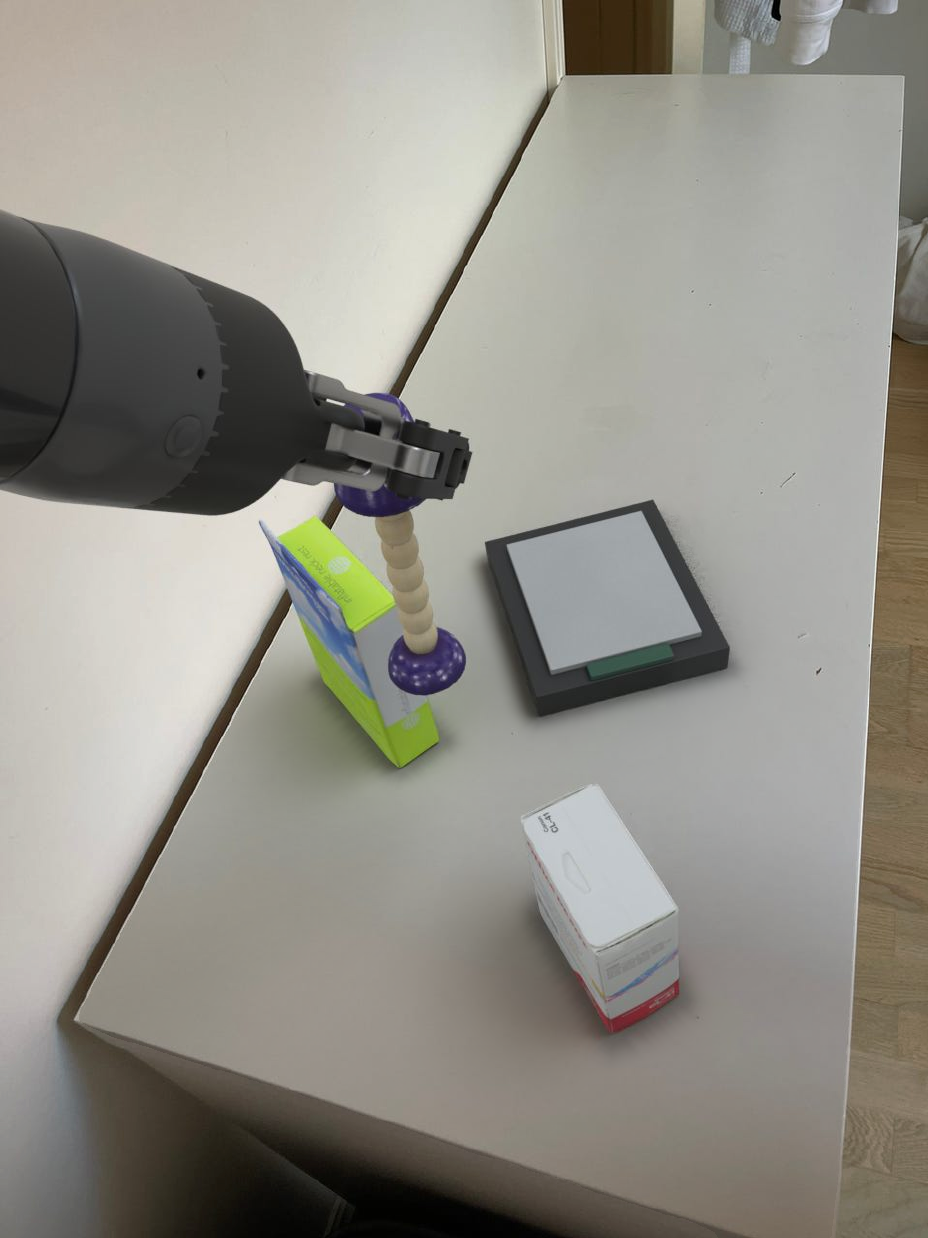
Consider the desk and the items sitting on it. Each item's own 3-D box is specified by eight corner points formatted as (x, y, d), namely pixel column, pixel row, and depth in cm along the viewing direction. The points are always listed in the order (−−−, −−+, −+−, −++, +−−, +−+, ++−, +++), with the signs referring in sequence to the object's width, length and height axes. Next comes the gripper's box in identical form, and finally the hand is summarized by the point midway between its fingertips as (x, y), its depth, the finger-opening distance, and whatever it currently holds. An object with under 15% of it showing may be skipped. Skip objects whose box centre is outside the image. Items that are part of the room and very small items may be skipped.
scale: (728, 668, 71) (730, 642, 69) (538, 717, 70) (535, 692, 68) (653, 520, 81) (653, 493, 79) (487, 562, 81) (483, 536, 79)
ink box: (682, 999, 57) (690, 912, 48) (604, 1041, 56) (598, 960, 47) (605, 874, 62) (599, 774, 53) (533, 910, 61) (515, 816, 52)
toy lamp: (393, 629, 56) (321, 382, 43) (476, 625, 55) (427, 373, 42) (385, 698, 52) (304, 454, 40) (472, 695, 52) (419, 445, 39)
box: (443, 741, 70) (398, 576, 57) (395, 774, 69) (338, 613, 56) (364, 654, 76) (307, 487, 63) (319, 684, 75) (251, 519, 62)
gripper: (337, 298, 26) (574, 403, 41) (-11, 220, 32) (306, 336, 47) (271, 571, 27) (524, 576, 43) (-52, 446, 34) (269, 489, 49)
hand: (408, 449), depth 45 cm, fingers closed on toy lamp, 4 cm apart
